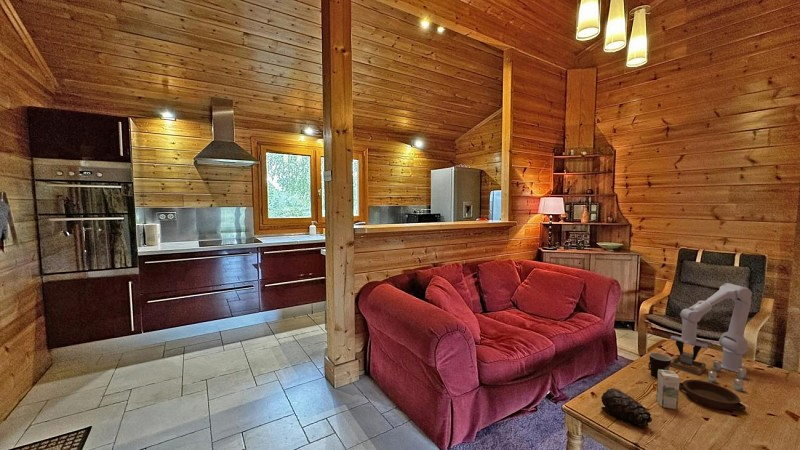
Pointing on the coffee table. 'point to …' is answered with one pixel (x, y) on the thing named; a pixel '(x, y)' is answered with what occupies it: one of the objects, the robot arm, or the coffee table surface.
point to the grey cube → (687, 359)
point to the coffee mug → (658, 363)
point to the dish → (711, 395)
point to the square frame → (688, 369)
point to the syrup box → (667, 389)
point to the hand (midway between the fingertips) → (687, 357)
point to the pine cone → (625, 409)
